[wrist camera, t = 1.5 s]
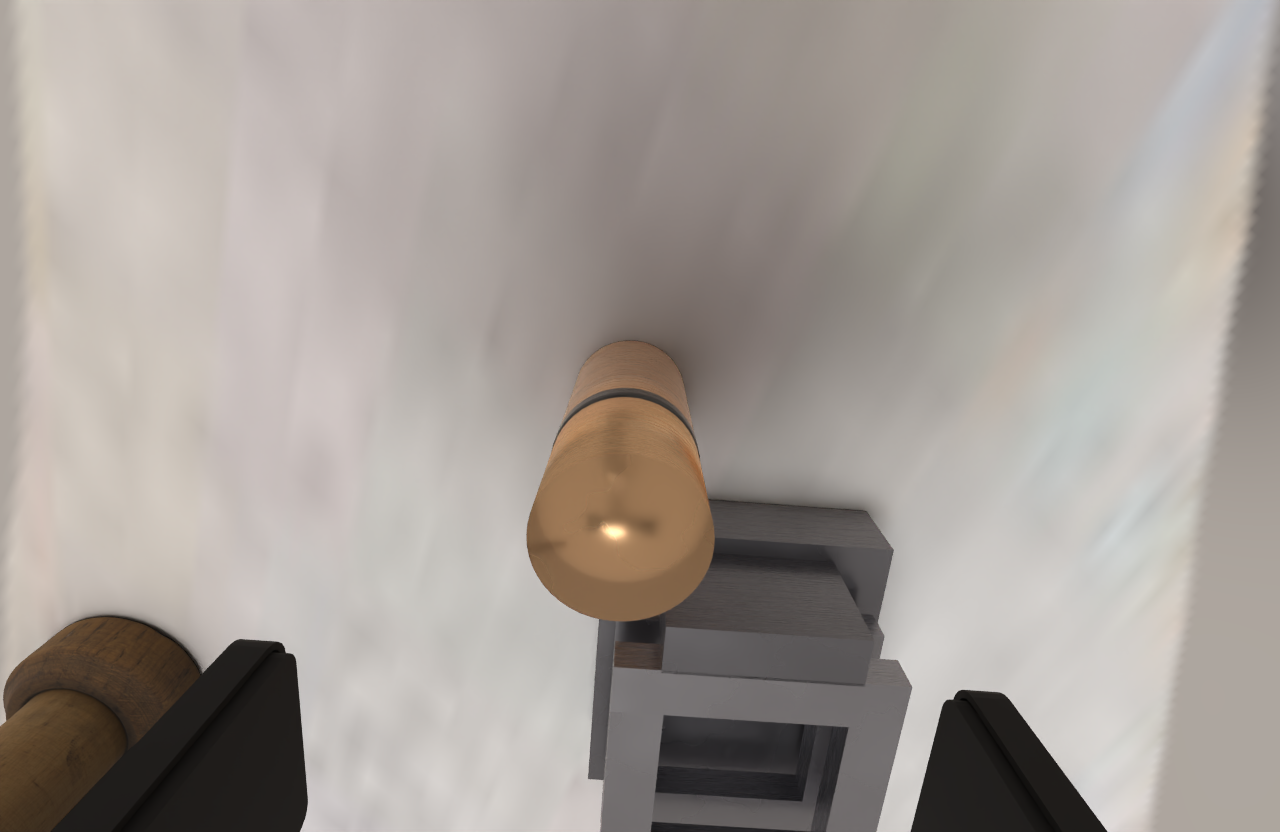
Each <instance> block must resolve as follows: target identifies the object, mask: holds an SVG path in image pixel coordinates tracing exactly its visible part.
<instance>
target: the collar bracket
mask: <svg viewBox="0 0 1280 832" xmlns="http://www.w3.org/2000/svg"><path fill="white" fill-rule="evenodd" d="M708 501H709V506H710V511H711V516H712V520H713V525H714V535H715V541H714V551H713V556H712V560H711V563H710V566H709V568H708V570H707V572H706V574H705V576H704V578H703V580H702V581H701V582H700V584H699V585H698V587H697V588H696V589H695V590H694V591H693V592H692V593H691V594H690V595H689V596H688V597H687V598H686V599H685V600H683V601H682V602H681V603H680V604H678V605H676V606H675V607H673V608H672V609H670V610H668V611H666V612H664V613H661V614H659V615H656V616H653V617H650V618H646V619H641V620H635V621H608V620H602V619H599V628H598V643H597V657H596V672H595V686H594V701H593V715H592V730H591V744H590V759H589V773H588V779H598V780H603V793H602V808H601V828H600V832H876V831H877V827H878V823H879V818H880V814H881V810H882V806H883V802H884V798H885V794H886V790H887V786H888V782H889V778H890V774H891V770H892V766H893V762H894V758H895V754H896V750H897V746H898V742H899V738H900V734H901V730H902V726H903V722H904V718H905V714H906V710H907V706H908V702H909V698H910V694H911V690H912V686H911V684H910V682H909V680H908V678H907V677H906V675H905V673H904V671H903V669H902V667H901V666H900V664H899V662H898V660H886V659H879V658H880V654H881V649H882V645H883V641H884V634H883V633H882V631H881V629H880V627H879V625H878V618H879V614H880V609H881V605H882V600H883V596H884V591H885V587H886V582H887V578H888V573H889V569H890V564H891V560H892V555H893V551H894V550H893V549H892V547H891V546H890V544H889V543H888V541H887V540H886V539H885V537H884V536H883V534H882V533H881V531H880V530H879V529H878V527H877V526H876V524H875V523H874V521H873V520H872V519H871V517H870V516H869V514H868V513H867V511H856V510H842V509H829V508H815V507H801V506H787V505H773V504H759V503H746V502H732V501H718V500H708Z"/></svg>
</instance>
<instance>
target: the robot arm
mask: <svg viewBox="0 0 1280 832" xmlns="http://www.w3.org/2000/svg"><path fill="white" fill-rule="evenodd" d="M307 805H308V796H307V785H306V773H305V761H304V749H303V737H302V725H301V713H300V701H299V689H298V677H297V665H296V659H295V657H294V655H293V654H290V653H286V652H285V648H284V646H283V644H282V643H280V642H273V641H259V640H244V639H239V640H236V641H234V642H233V643H232V644H230V645H229V646H228V647H227V648H226V650H225V651H224V652H223V653H222V654H221V655H220V656H219V657H218V658H217V659H216V660H215V661H214V662H213V663H212V664H211V665H210V666H209V667H208V668H207V670H206V671H205V672H204V673H203V674H202V675H201V676H200V677H199V678H198V679H197V680H196V681H195V682H194V683H193V684H192V685H191V686H190V687H189V688H188V690H187V691H186V692H185V693H184V694H183V695H182V696H181V697H180V698H179V699H178V700H177V701H176V702H175V703H174V704H173V705H172V706H171V707H170V709H169V710H168V711H167V712H166V713H165V714H164V715H163V716H162V717H161V718H160V719H159V720H158V721H157V722H156V723H155V724H154V725H153V726H152V727H151V729H150V730H149V731H148V732H147V733H146V734H145V735H144V736H143V737H142V738H141V739H140V740H139V741H138V742H137V743H136V744H135V745H133V746H132V747H131V748H130V749H129V750H128V751H127V752H126V753H125V754H124V755H123V756H122V757H121V758H120V759H119V760H118V761H117V762H116V763H115V764H114V765H113V766H112V767H111V769H110V770H109V771H108V772H107V773H106V774H105V775H104V776H103V777H102V778H101V779H100V780H99V781H98V782H97V783H96V784H95V785H94V786H93V787H92V788H91V790H90V791H89V792H88V793H87V794H86V795H85V796H84V797H83V798H82V799H81V800H80V801H79V802H78V803H77V804H76V805H75V806H74V807H73V808H72V809H71V810H70V812H69V813H68V814H67V815H66V816H65V817H64V818H63V819H62V820H61V821H60V822H59V823H58V824H57V825H56V826H55V827H54V828H53V829H52V830H51V831H50V832H300V830H301V828H302V825H303V822H304V820H305V816H306V812H307ZM911 832H1107V830H1106V829H1105V828H1104V826H1103V825H1102V824H1101V822H1100V821H1099V820H1098V818H1097V817H1096V816H1095V814H1094V813H1093V812H1092V810H1091V809H1090V808H1089V806H1088V805H1087V803H1086V802H1085V801H1084V799H1083V798H1082V797H1081V795H1080V794H1079V793H1078V791H1077V790H1076V789H1075V787H1074V786H1073V785H1072V783H1071V782H1070V781H1069V779H1068V778H1067V777H1066V775H1065V774H1064V773H1063V771H1062V770H1061V768H1060V767H1059V766H1058V764H1057V763H1056V762H1055V760H1054V759H1053V758H1052V756H1051V755H1050V754H1049V752H1048V751H1047V750H1046V748H1045V747H1044V746H1043V744H1042V743H1041V742H1040V740H1039V739H1038V738H1037V736H1036V735H1035V733H1034V732H1033V731H1032V729H1031V728H1030V727H1029V725H1028V724H1027V723H1026V721H1025V720H1024V719H1023V717H1022V716H1021V715H1020V713H1019V712H1018V711H1017V709H1016V708H1015V707H1014V705H1013V704H1012V702H1011V701H1010V700H1009V699H1008V698H1007V697H1006V696H1005V695H1004V694H1002V693H999V692H986V691H971V690H961V691H958V692H957V693H956V695H955V697H954V699H953V700H946V701H945V702H944V704H943V707H942V710H941V714H940V718H939V722H938V726H937V730H936V734H935V738H934V742H933V746H932V750H931V754H930V758H929V761H928V765H927V769H926V773H925V777H924V781H923V785H922V789H921V793H920V797H919V801H918V805H917V809H916V813H915V817H914V821H913V825H912V829H911Z"/></svg>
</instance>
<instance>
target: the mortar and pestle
mask: <svg viewBox="0 0 1280 832" xmlns="http://www.w3.org/2000/svg"><path fill="white" fill-rule="evenodd" d="M200 676H201V675H200V673H199V671H198V669H197V667H196V665H195V664H194V662H193V661H192V659H191V658H190V657H189V656H188V654H187V653H186V652H185V651H184V650H183V649H182V648H181V647H180V646H179V645H178V644H176V643H175V642H174V641H172V640H171V639H169V638H167V637H165V636H163V635H161V634H160V633H158V632H156V631H155V630H154V629H153V628H151V627H149V626H146V625H144V624H141V623H138V622H135V621H131V620H127V619H122V618H114V617H98V618H89V619H85V620H81V621H78V622H76V623H73V624H71V625H69V626H68V627H66V628H64V629H63V630H61V631H60V632H58V633H57V634H56V635H55V636H53V637H52V638H51V639H50V640H48V641H47V642H46V643H45V644H43V645H42V646H41V647H40V648H38V649H37V650H36V651H35V652H33V653H32V654H31V655H30V656H28V657H27V658H26V659H25V660H23V661H22V662H21V663H20V664H19V665H18V666H17V667H16V668H15V669H14V670H13V671H12V673H11V674H10V676H9V678H8V680H7V682H6V685H5V688H4V695H3V701H4V708H5V712H6V722H5V723H4V724H3V725H1V726H0V832H50V831H51V830H52V829H53V828H54V827H55V826H56V825H57V824H58V823H59V822H60V821H61V820H62V819H63V818H64V817H65V816H66V815H67V814H68V813H69V812H70V810H71V809H72V808H73V807H74V806H75V805H76V804H77V803H78V802H79V801H80V800H81V799H82V798H83V797H84V796H85V795H86V794H87V793H88V792H89V791H90V790H91V788H92V787H93V786H94V785H95V784H96V783H97V782H98V781H99V780H100V779H101V778H102V777H103V776H104V775H105V774H106V773H107V772H108V771H109V770H110V769H111V767H112V766H113V765H114V764H115V763H116V762H117V761H118V760H119V759H120V758H121V757H122V756H123V755H124V754H125V753H126V752H127V751H128V750H129V749H130V748H131V747H132V746H133V745H135V744H136V743H137V742H138V741H139V740H140V739H141V738H142V737H143V736H144V735H145V734H146V733H147V732H148V731H149V730H150V729H151V727H152V726H153V725H154V724H155V723H156V722H157V721H158V720H159V719H160V718H161V717H162V716H163V715H164V714H165V713H166V712H167V711H168V710H169V709H170V707H171V706H172V705H173V704H174V703H175V702H176V701H177V700H178V699H179V698H180V697H181V696H182V695H183V694H184V693H185V692H186V691H187V690H188V688H189V687H190V686H191V685H192V684H193V683H194V682H195V681H196V680H197V679H198V678H199V677H200Z"/></svg>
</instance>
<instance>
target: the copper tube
mask: <svg viewBox="0 0 1280 832" xmlns="http://www.w3.org/2000/svg"><path fill="white" fill-rule="evenodd" d="M714 541H715V535H714V525H713V520H712V516H711V511H710V506H709V501H708V497H707V492H706V487H705V483H704V478H703V473H702V468H701V464H700V455H699V451H698V446H697V442H696V438H695V435H694V431H693V426H692V421H691V417H690V412H689V407H688V403H687V398H686V393H685V388H684V384H683V380H682V376H681V374H680V371H679V370H678V368H677V366H676V364H675V363H674V362H673V360H672V359H671V358H670V357H669V356H668V355H667V354H666V353H664V352H663V351H662V350H660V349H658V348H657V347H655V346H653V345H650V344H648V343H644V342H640V341H619V342H615V343H612V344H609V345H606V346H604V347H603V348H601V349H599V350H598V351H596V352H595V353H594V354H593V355H592V356H591V357H590V358H589V359H588V360H587V361H586V362H585V364H584V365H583V367H582V369H581V370H580V373H579V375H578V378H577V381H576V384H575V386H574V389H573V392H572V395H571V398H570V401H569V404H568V407H567V409H566V412H565V415H564V418H563V421H562V424H561V426H560V428H559V431H558V433H557V436H556V439H555V441H554V444H553V448H552V452H551V455H550V458H549V461H548V464H547V467H546V469H545V472H544V475H543V478H542V481H541V484H540V487H539V490H538V492H537V495H536V498H535V501H534V504H533V507H532V510H531V512H530V516H529V520H528V525H527V548H528V553H529V557H530V560H531V563H532V566H533V568H534V570H535V572H536V574H537V576H538V578H539V579H540V581H541V582H542V583H543V585H544V586H545V587H546V588H547V589H548V591H549V592H550V593H551V594H552V595H553V596H555V597H556V598H557V599H558V600H559V601H560V602H562V603H563V604H565V605H566V606H568V607H569V608H571V609H573V610H575V611H577V612H579V613H582V614H584V615H587V616H590V617H593V618H597V619H602V620H608V621H635V620H641V619H646V618H650V617H653V616H656V615H659V614H661V613H664V612H666V611H668V610H670V609H672V608H673V607H675V606H676V605H678V604H680V603H681V602H682V601H683V600H685V599H686V598H687V597H688V596H689V595H690V594H691V593H692V592H693V591H694V590H695V589H696V588H697V587H698V585H699V584H700V582H701V581H702V580H703V578H704V576H705V574H706V572H707V570H708V568H709V566H710V563H711V560H712V556H713V551H714Z"/></svg>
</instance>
